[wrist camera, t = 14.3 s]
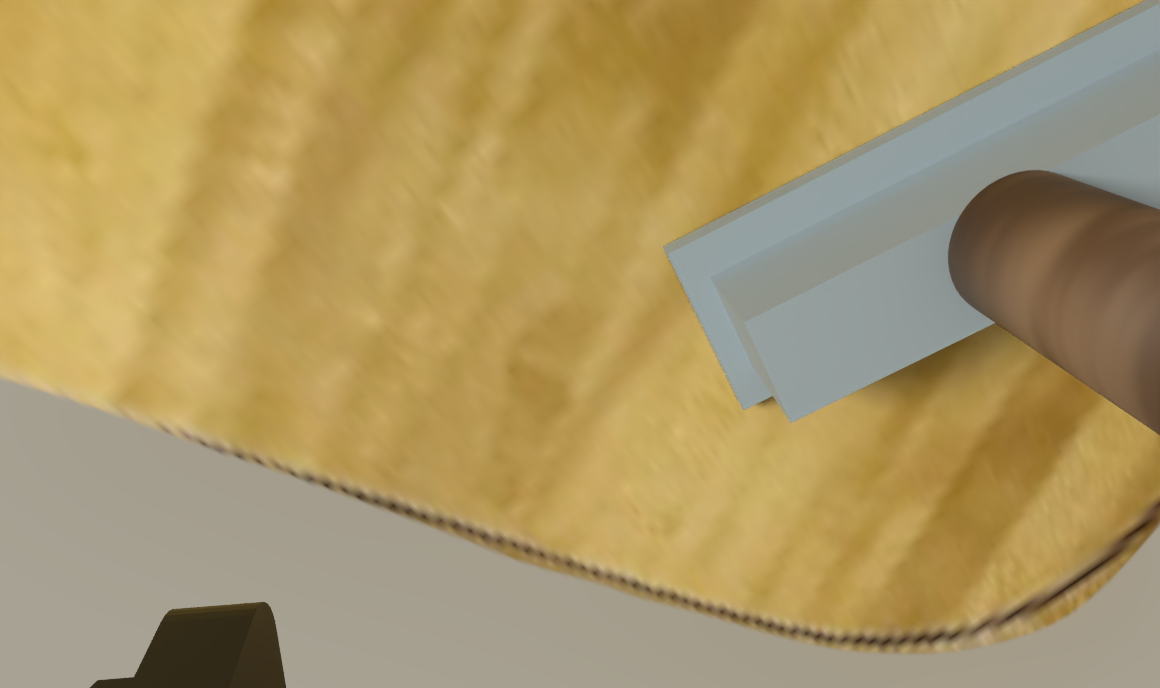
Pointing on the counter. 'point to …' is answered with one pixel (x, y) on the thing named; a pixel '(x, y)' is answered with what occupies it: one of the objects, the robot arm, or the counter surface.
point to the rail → (912, 220)
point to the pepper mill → (1069, 280)
